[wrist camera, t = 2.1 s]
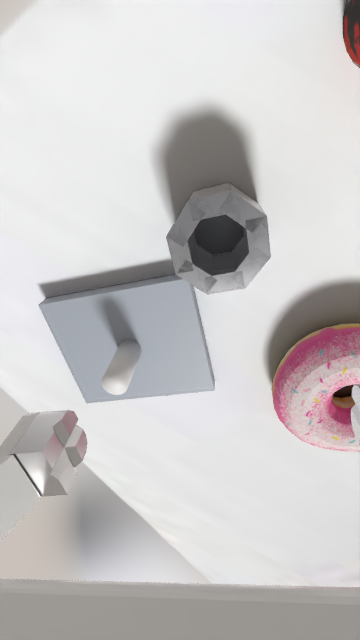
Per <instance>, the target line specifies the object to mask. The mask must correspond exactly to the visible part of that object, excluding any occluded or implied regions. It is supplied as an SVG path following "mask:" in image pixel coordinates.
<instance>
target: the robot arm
mask: <svg viewBox="0 0 360 640" xmlns="http://www.w3.org/2000/svg"><path fill="white" fill-rule="evenodd" d="M352 398H353V400H354V402H355V403H356V404H355V405H354V406H353V407H352V408H351V422H352V428H353V431H354V434H355V437H356V439H357V441H358V443H359V445H360V384H356V385H354V386H353V388H352ZM77 421H78V418H77V416H76V414H75V412H74V411H70V410H67V411H51V412H41V413H28V414H26V415H24V416H23V417H22V418H21V419H20V421H19V422H18V423H17V425H16V426H15V427H14V429H13V430H12V431H11V433H10V434H9V435H8V437H7V438H6V439H5V441H4V442H3V443H2V445H1V446H0V542H1V541H2V540H3V538H4V537H5V536H6V535H7V534H8V533H9V532H10V531H11V530H12V529H13V528H14V527H15V526H16V524H18V522H19V521H20V520H21V519H22V518H23V517H24V516H25V515H26V514H27V513H28V512H29V511H30V510H31V509H32V507H34V505H35V504H36V503H37V502H38V501H39V500H40V499H41V496H55V495H67V494H68V492H69V490H70V488H71V486H72V483H73V481H74V479H75V477H76V474H77V473H76V469H75V467H76V466H77V465H78V464H79V463H80V462H82V461H83V458H84V456H85V453H86V448H87V439H86V434H85V432H84V430H83V429H82V428H80V427H79V426H78V425H76V424H77ZM0 640H360V587H320V586H280V585H240V584H199V583H197V584H196V583H157V582H156V583H155V582H114V581H73V580H70V581H69V580H31V579H30V580H29V579H27V580H26V579H0Z"/></svg>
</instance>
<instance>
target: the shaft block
mask: <svg viewBox="0 0 360 640" xmlns="http://www.w3.org/2000/svg"><path fill="white" fill-rule="evenodd" d="M39 307H40V309H41V311H42V313H43V315H44V317H45V319H46V322H47V324H48V326H49V328H50V330H51V332H52V334H53V336H54V338H55V340H56V342H57V344H58V346H59V348H60V350H61V352H62V354H63V356H64V358H65V360H66V362H67V364H68V366H69V368H70V370H71V373H72V375H73V377H74V379H75V381H76V383H77V385H78V387H79V389H80V391H81V393H82V395H83V397H84V399H85V401H86V403H94V402H104V401H114V400H124V399H134V398H144V397H154V396H164V395H174V394H184V393H194V392H204V391H214V388H215V380H214V375H213V371H212V367H211V362H210V358H209V353H208V349H207V345H206V340H205V336H204V332H203V327H202V323H201V318H200V314H199V310H198V305H197V301H196V297H195V292H194V288H193V285H191V284H190V283H188V282H187V281H185V280H184V279H182V278H180V277H179V276H177V275H176V274H175V275H170V276H164V277H159V278H153V279H148V280H143V281H137V282H132V283H126V284H121V285H116V286H110V287H105V288H99V289H94V290H88V291H83V292H78V293H72V294H67V295H61V296H56V297H50V298H46V299H45V300H44V301H43V302H42V303H40V304H39Z"/></svg>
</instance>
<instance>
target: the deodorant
mask: <svg viewBox="0 0 360 640" xmlns="http://www.w3.org/2000/svg"><path fill="white" fill-rule="evenodd" d="M343 38H344V42H345V46H346V50H347V52H348V54H349V56H350V57H351V59H352V61H353V62H354V63H355V64H356V65H357V66H358V67H359V68H360V0H347V3H346V8H345V13H344V18H343Z"/></svg>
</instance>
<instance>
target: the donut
mask: <svg viewBox="0 0 360 640" xmlns="http://www.w3.org/2000/svg"><path fill="white" fill-rule="evenodd" d="M355 384H360V323H353V324H339V325H335V326H330V327H325V328H323V329H320V330H318V331H315V332H313V333H310V334H309V335H307V336H306V337H304V338H302V339H301V340H299V341H298V342H297V343H296V344H295V345H294V346H293V347H291V348H290V349H289V350H288V352H287V353H286V355H285V356H284V357H283V359H282V360H281V362H280V364H279V366H278V368H277V371H276V373H275V376H274V379H273V385H272V395H273V403H274V408H275V411H276V413H277V415H278V418H279V419H280V421H281V422H282V423H283V424H284V425H285V427H286V428H287V429H288V430H289V431H290V432H291V433H292V434H294V435H295V436H297V437H298V438H299V439H301V440H302V441H305V442H307V443H309V444H311V445H314V446H318V447H322V448H325V449H331V450H338V451H360V445H359V443H358V441H357V439H356V437H355V434H354V431H353V428H352V422H351V408H352V407H353V406H354V405H355V404H356V403H355V402H354V400H353V398H352V396H348V397H342V398H338V397H334V396H333V393H335V392H336V391H337V390H339V389H340V388H342V387H344V386H348V385H355Z"/></svg>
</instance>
